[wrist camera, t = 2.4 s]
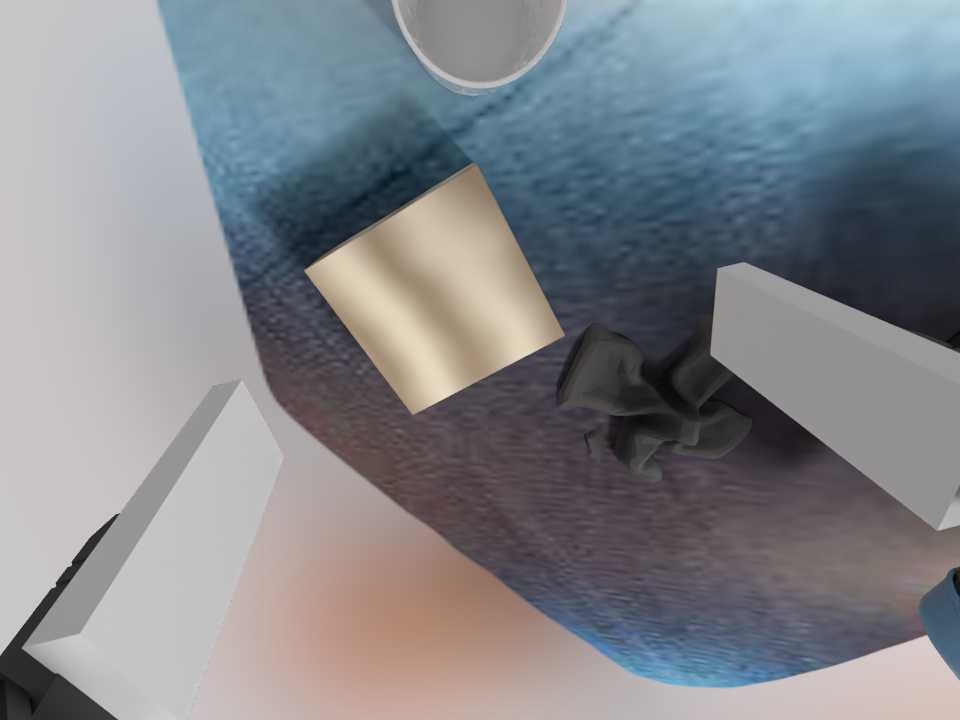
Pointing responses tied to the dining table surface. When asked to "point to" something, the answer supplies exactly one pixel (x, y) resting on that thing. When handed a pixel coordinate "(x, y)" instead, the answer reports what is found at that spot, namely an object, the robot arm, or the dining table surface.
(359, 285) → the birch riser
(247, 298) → the dining table surface
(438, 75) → the white cup
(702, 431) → the cloth
